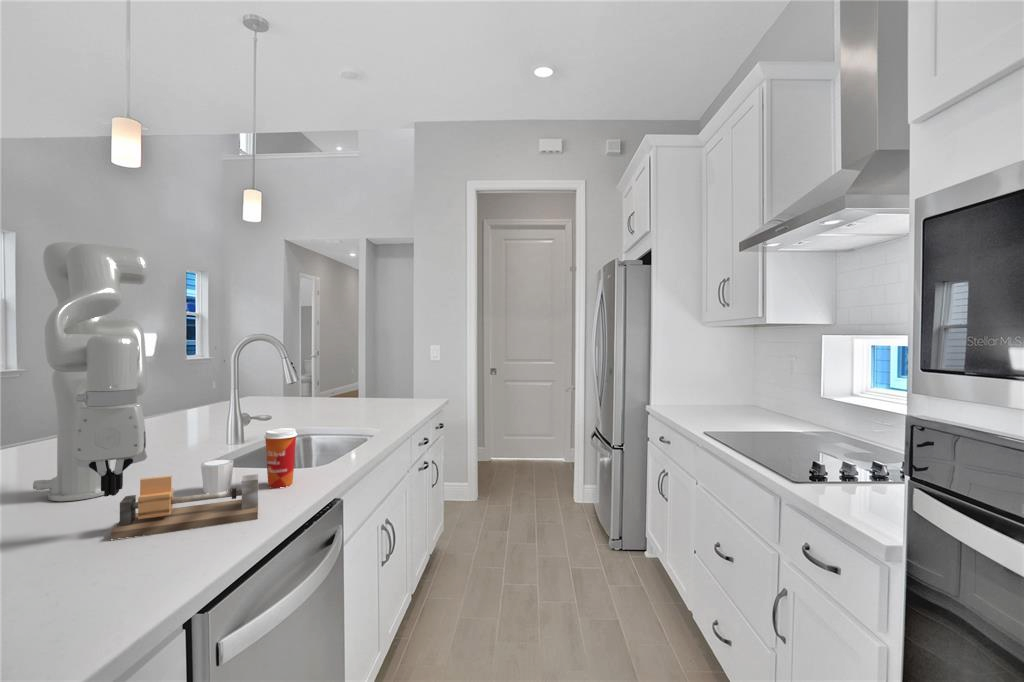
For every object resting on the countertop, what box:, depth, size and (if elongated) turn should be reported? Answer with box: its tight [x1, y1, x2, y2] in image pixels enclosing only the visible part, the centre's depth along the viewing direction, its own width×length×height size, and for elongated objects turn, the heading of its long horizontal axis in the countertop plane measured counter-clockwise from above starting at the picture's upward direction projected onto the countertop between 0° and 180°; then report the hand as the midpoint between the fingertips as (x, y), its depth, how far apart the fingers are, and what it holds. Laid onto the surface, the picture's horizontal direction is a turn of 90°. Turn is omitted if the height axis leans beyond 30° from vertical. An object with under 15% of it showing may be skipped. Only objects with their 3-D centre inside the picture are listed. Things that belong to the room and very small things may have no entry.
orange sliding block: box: [137, 475, 174, 519], centre depth 95 cm, size 5×4×7 cm
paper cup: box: [263, 427, 298, 489], centre depth 122 cm, size 8×8×14 cm
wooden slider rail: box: [110, 473, 259, 540], centre depth 98 cm, size 24×10×8 cm, turn 118°
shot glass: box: [200, 458, 234, 494], centre depth 117 cm, size 7×7×7 cm
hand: (111, 493), depth 92 cm, fingers closed
